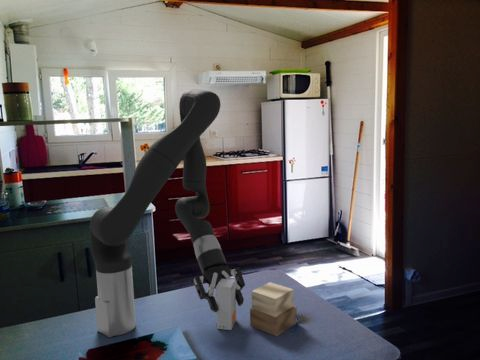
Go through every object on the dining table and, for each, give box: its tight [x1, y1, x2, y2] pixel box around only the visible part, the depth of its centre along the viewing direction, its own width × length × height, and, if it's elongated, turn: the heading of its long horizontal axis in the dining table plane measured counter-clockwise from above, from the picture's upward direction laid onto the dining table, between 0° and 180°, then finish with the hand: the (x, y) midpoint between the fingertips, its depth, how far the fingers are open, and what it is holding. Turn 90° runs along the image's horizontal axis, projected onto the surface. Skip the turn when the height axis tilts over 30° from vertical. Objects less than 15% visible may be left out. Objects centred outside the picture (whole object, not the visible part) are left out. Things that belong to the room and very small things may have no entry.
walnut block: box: [249, 305, 298, 337], centre depth 113 cm, size 9×9×5 cm
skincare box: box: [215, 278, 237, 331], centre depth 113 cm, size 6×4×12 cm
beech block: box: [251, 281, 294, 317], centre depth 112 cm, size 8×8×5 cm
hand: (228, 307), depth 111 cm, fingers closed on skincare box, 7 cm apart
